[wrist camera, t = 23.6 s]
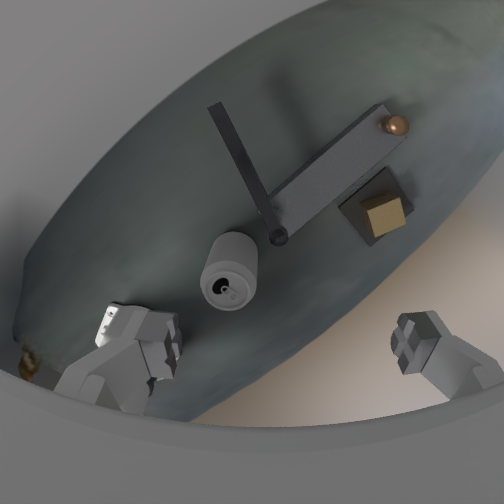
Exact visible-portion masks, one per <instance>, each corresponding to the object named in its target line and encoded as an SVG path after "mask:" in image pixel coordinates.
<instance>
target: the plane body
mask: <svg viewBox="0 0 504 504" xmlns="http://www.w3.org/2000/svg"><path fill="white" fill-rule="evenodd" d="M408 129H409V125H408V122H407V120H406V119H405V118H404V117H402V116H396V115H391V114H390V113H389V111H388V110H387V109H386V107H385V106H384V105H383V104H375V105H374V106H373V107H371V108H370V109H369V110H368V111H367V112H365V113H364V114H363V115H362V116H361V117H359V118H358V119H357V120H356V121H355V122H353V123H352V124H351V125H350V126H349V127H347V128H346V129H345V130H344V131H343V132H341V133H340V134H339V135H338V136H337V137H336V138H334V139H333V140H332V141H331V142H330V143H328V144H327V145H326V146H325V147H324V148H323V149H321V150H320V151H319V152H318V153H317V154H316V155H314V156H313V157H312V158H311V159H310V160H309V161H308V162H306V163H305V164H304V165H303V166H302V167H301V168H299V169H298V170H297V171H296V172H295V173H294V174H293V175H291V176H290V177H289V178H288V179H287V180H286V181H285V182H284V183H282V184H281V185H280V186H279V187H278V188H277V189H276V190H275V191H273V192H272V193H271V194H270V195H269V196H268V198H269V200H270V202H271V204H272V206H273V208H274V210H275V213H276V215H277V217H278V219H279V221H280V223H281V226H284V227H285V228H286V229H287V232H288V238H289V237H290V236H291V235H292V234H294V233H295V232H296V231H297V230H298V229H300V228H301V227H302V226H303V225H304V224H305V223H307V222H308V221H309V220H310V219H311V218H313V217H314V216H315V215H316V214H317V213H319V212H320V211H321V210H322V209H323V208H325V207H326V206H327V205H328V204H329V203H331V202H332V201H333V200H334V199H335V198H336V197H338V196H339V195H340V194H341V193H342V192H344V191H345V190H346V189H347V188H348V187H349V186H351V185H352V184H353V183H354V182H355V181H357V180H358V179H359V178H360V177H361V176H362V175H364V174H365V173H366V172H367V171H368V170H369V169H371V168H372V167H373V166H374V165H375V164H376V163H378V162H379V161H380V160H381V159H382V158H383V157H385V156H386V155H387V154H388V153H389V152H390V151H392V150H393V149H394V148H395V147H396V146H397V145H399V144H400V143H401V142H402V141H403V140H404V139H406V138H407V137H406V136H405V134H406V133H407V132H408ZM258 213H259V214H260V212H259V210H258ZM260 215H261V214H260Z"/></svg>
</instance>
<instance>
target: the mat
mask: <svg viewBox="0 0 504 504" xmlns="http://www.w3.org/2000/svg"><path fill="white" fill-rule="evenodd" d="M388 190H390V191H391V192H393V193H394V194H395V195H397V196H398V197H400V201H401V204H402V209H403V213H404V217H406V216H407V215H409V214H410V213H411V212H412V211H413V210H414V209H413V208H412V206H411V204H410V203H409V201H408V200H407V198H406V196H405V195H404V193H403V192H402V190H401V188H400V187H399V185H398V184H397V182H396V181H395V179H394V178H393V176H392V175H391V173H390V172H389V171H388V169H387V168H386V167H384V168H383V169H382V170H381V171H380V172H378V173H377V174H376V175H375V176H374V177H373V178H371V179H370V180H369V181H368V182H367V183H366V184H364V185H363V186H362V187H361V188H360V189H359V190H357V191H356V192H355V193H354V194H353V195H351V196H350V197H349V198H348V199H347V200H346V201H344V202H343V203H342V204H341V205H340V206H338V207H339V209H340V210H341V211H342V212H343V214H344V215H345V216H346V217H347V218H348V220H349V221H350V222H351V223H352V225H353V226H354V227H355V228H356V230H357V231H358V232H359V234H360V235H361V236H362V237H363V239H364V240H365V241H366V243H367V244H368V245H369V247H370V246H372V245H373V244H374V243H375V242H377V241H378V240H379V239H380V238H381V237H383V236H384V235H385V234H386V233H385V234H382V235H380V236H378V237H374V236H373V234H372V233H371V232H370V231H369V229H368V228H367V226H366V223H365V220H364V217H363V214H362V210H361V207H360V204H359V202H361V201H364V200H366V199H369V198H371V197H374V196H376V195H379V194H381V193H383V192H386V191H388Z"/></svg>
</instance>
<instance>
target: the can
mask: <svg viewBox="0 0 504 504" xmlns="http://www.w3.org/2000/svg"><path fill="white" fill-rule="evenodd" d="M257 266H258V250H257V246H256V244H255V243H254V241H253V240H252V239H251V238H250V237H249V236H247V235H245V234H243V233H241V232H234V231H233V232H227V233H224V234H222V235H220V236H219V237H218V238H217V239H216V240H215V241H214V243H213V245H212V248H211V251H210V253H209V256H208V259H207V261H206V264H205V267H204V270H203V272H202V275H201V278H200V286H201V290H202V293H203V294H204V297H205V299H206V300H207V301H208V303H209V304H211V305H212V306H213V307H215V308H217V309H220V310H224V311H234V310H238V309H240V308H242V307H244V306H245V305H246V304H247V303H248V302H249V301H250V300H251V299H252V298H253V296H254V295H255V292H256V287H257Z"/></svg>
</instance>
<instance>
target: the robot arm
mask: <svg viewBox="0 0 504 504" xmlns="http://www.w3.org/2000/svg"><path fill="white" fill-rule="evenodd" d="M397 323H398V327H397V328H396V329H395V330H394V331H393V334H392V336H391V349H392V351H393V353H394V354H395V355H396V356H397V357H399V359H398V365H399V367H400V369H401V371H402V374H403V375H405V374H413V373H419V372H421V374H422V375H423V376H424V377H425V378H427V379H428V380H429V381H430V382H431V383H432V384H433V385H434V386H435V387H437V388H438V389H439V390H440V391H441V392H442V393H443V394H444V395H445V396H447V397H448V398H449V399H450V401H448V402H445V403H442V404H438V405H434V406H431V407H427V408H423V409H419V410H415V411H410V412H406V413H401V414H396V415H392V416H386V417H382V418H375V419H369V420H363V421H355V422H348V423H339V424H329V425H318V426H301V427H234V426H233V427H232V426H218V425H206V424H195V423H187V422H179V421H172V420H165V419H159V418H153V417H147V416H143V413H144V409H145V406H146V403H147V400H148V398H149V397H150V396H151V394H152V392H153V391H154V389H155V386H156V381H158V380H160V379H163V378H167V379H174V375H175V372H176V368H177V362H176V360H177V359H178V357H179V356H180V353H181V349H182V334H181V331H180V330H179V328H178V324H179V317H178V314H177V313H176V312H167V311H157V310H150V309H148V308H145V307H141V306H121V305H118V304H114V303H111V304H109V306H108V308H107V311H106V313H105V316H104V318H103V321H102V323H101V326H100V329H99V331H98V334H97V337H96V339H95V342H96V344H97V345H98V347H99V348H98V349H96V350H94V351H93V352H91V353H89V354H88V355H86V356H84V357H83V358H81V359H79V360H78V361H76V362H74V363H73V364H71V365H69V366H68V367H67V368H66V370H65V372H64V373H63V375H62V377H61V379H60V380H59V382H58V384H57V386H56V388H55V390H54V391H50V390H48V389H45V388H42V387H40V386H37V385H34V384H32V383H30V382H27V381H25V380H22V379H20V378H18V377H15V376H13V375H11V374H9V373H7V372H4V371H2V370H0V504H504V372H503V370H502V368H501V367H500V365H499V364H498V362H497V361H496V360H495V359H493V358H492V357H490V356H489V355H487V354H485V353H484V352H482V351H480V350H479V349H477V348H475V347H474V346H472V345H471V344H469V343H467V342H466V341H464V340H462V339H460V338H459V337H457V336H455V335H454V336H452V334H451V333H450V331H449V330H448V328H447V327H446V326H445V324H444V323H443V321H442V320H441V319H440V317H439V316H438V314H437V313H436V312H435V311H433V310H432V311H423V312H415V313H402V314H401V315H400V316H399V318H398V321H397Z"/></svg>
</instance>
